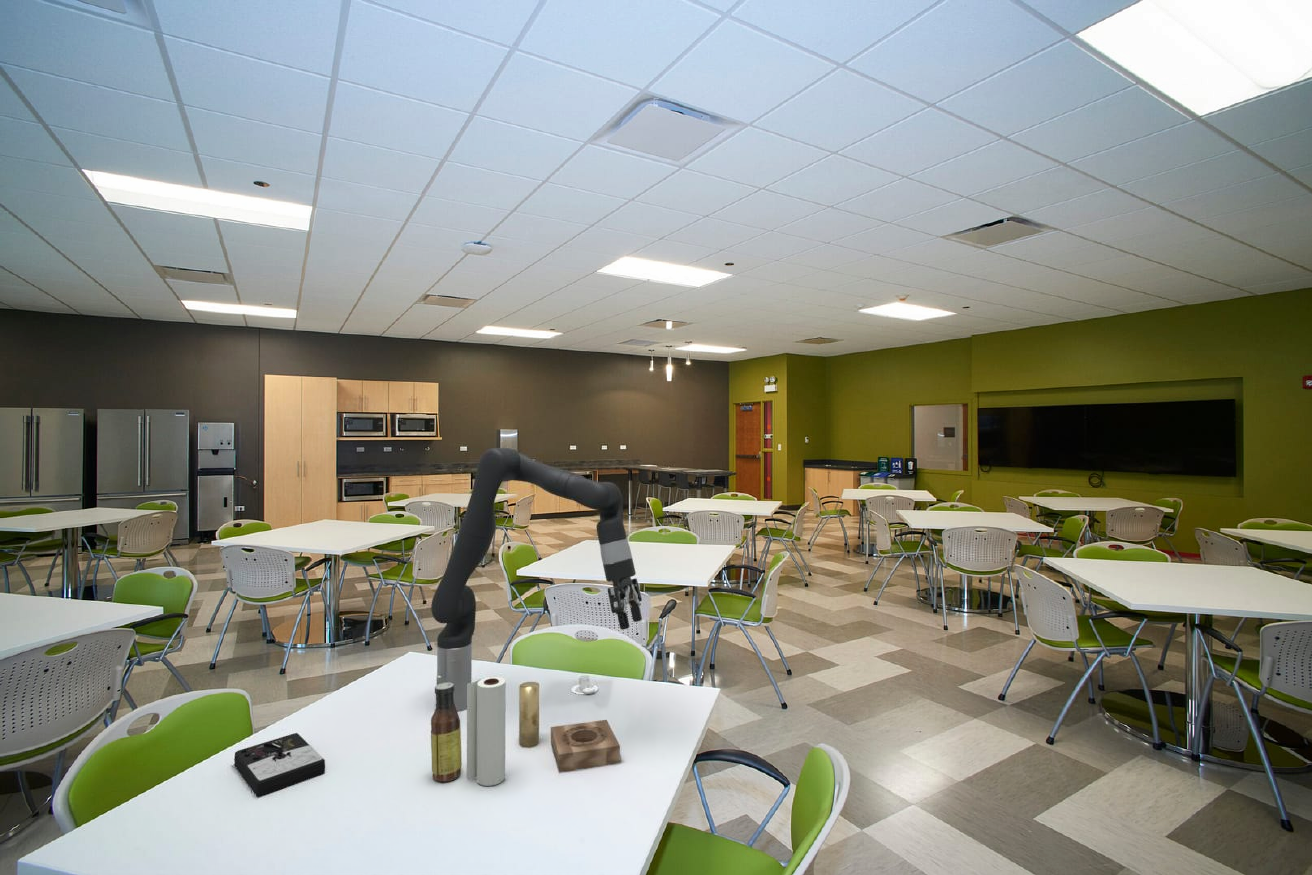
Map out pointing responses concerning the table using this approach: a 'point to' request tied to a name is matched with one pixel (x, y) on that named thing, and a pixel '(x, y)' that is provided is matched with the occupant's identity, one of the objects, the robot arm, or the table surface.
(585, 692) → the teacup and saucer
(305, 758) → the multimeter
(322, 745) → the table surface
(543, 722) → the table surface
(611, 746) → the jig
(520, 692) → the yellow cylinder peg
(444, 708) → the sauce bottle
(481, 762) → the paper towel roll
